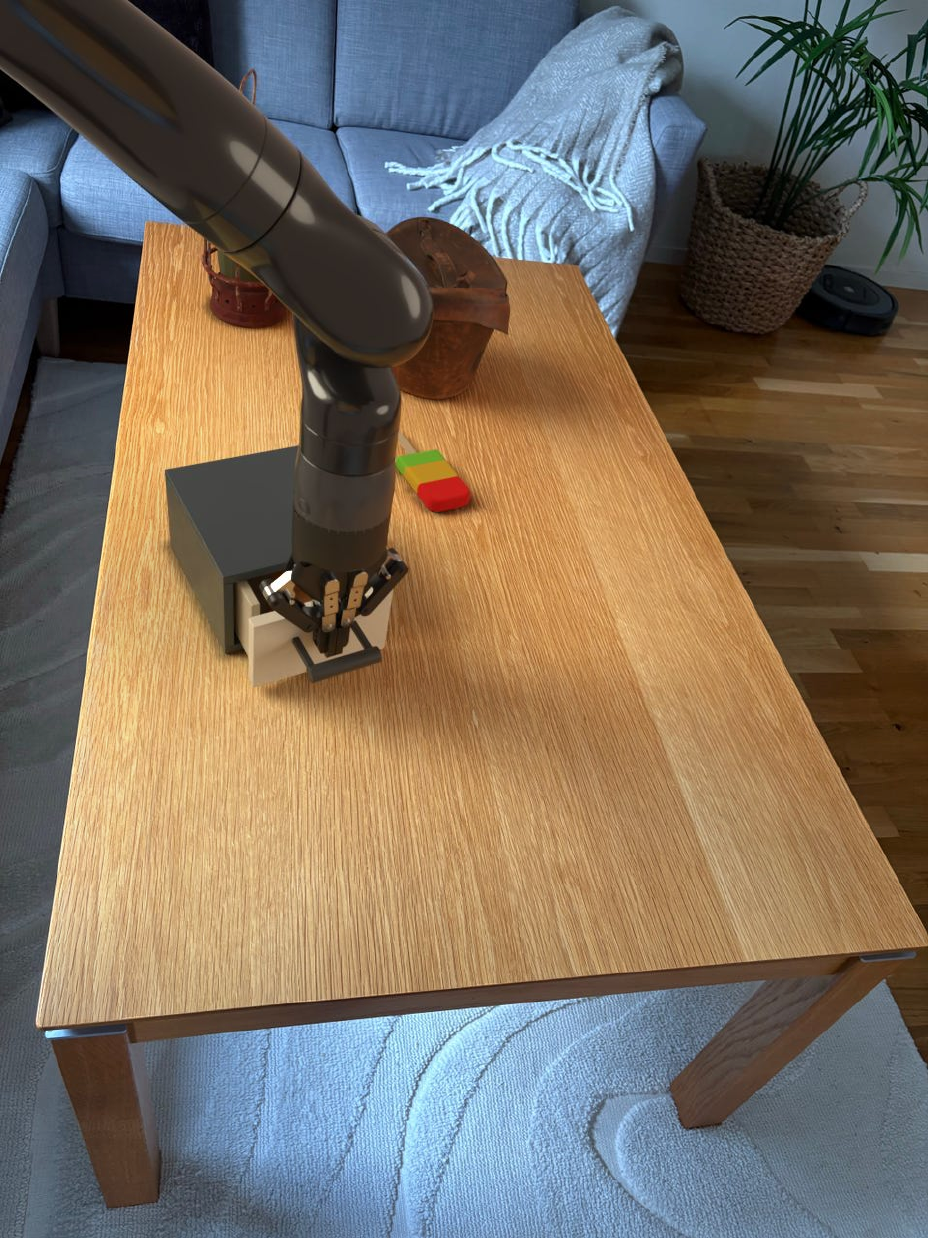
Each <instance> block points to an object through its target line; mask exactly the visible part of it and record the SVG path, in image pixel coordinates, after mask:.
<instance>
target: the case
mask: <svg viewBox="0 0 928 1238" xmlns="http://www.w3.org/2000/svg"><path fill="white" fill-rule="evenodd" d="M385 234H386V235H387V236H388V237H389V238H390V239H391V240H392V241H393V243H394V244H395V245H396V246H397V247H398V248H399V249H400V250H401V252H402V253H403V254H404V255H405V256H406V257H407V258H408V259H409V260H410V261H411V263H412V264H413V265H414V266H415V267H416V268H417V269H418V271H419V272H420V273H421V275H422V276H423V278H424V279H425V281H426V283H427V285H428V287H429V290H430V293H431V297H432V301H433V310H434V314H433V323H432V328H431V331H430V334H429V336H428V338H427V340H426V342H425V344H424V346H423V347H422V348H421V349H420V351H419V352H418V353H417V354H416V355H415V356H414V357H412V358H411V359H410V360H408V361H406V362H404V363H402V364H400V365H397V366H394V367H391V369H392V372H393V374H394V376H395V379H396V381H397V383H398V386H399V389H400V391H403V392H405V393H407V394H410V395H413V396H415V397H420V398H424V399H431V400H445V399H449V398H453V397H456V396H458V395H459V394H462V393H463V392H465V391H466V390H467V389H468V388H469V387H470V385H471V384H472V382H473V380H474V377H475V375H476V373H477V370H478V368H479V365H480V363H481V361H482V358H483V356H484V354H485V351H486V350H487V347H488V345H489V342H490V340H491V338H492V336H493V333H494V331H498V332H501V334H504V335H506V336H510V333H509V327H510V325H509V324H510V317H511V304H510V296H509V294H508V293H507V290H508V279H507V277H506V276H505V274H504V272H503V270H502V269H501V267H500V266H499V264H498V263H497V261H496V260H495V258H494V257H493V255H492V254H491V253H490V252H489V250H487V249H486V248H485V246H484V245H482V244H481V242H480V241H478V240H477V239H476V238H475V237H473V236H472V235H471V234H469V233H468V232H466V231H465V230H463V229H462V228H460V227H459V226H457V225H454V224H453V223H451V222H448V221H445V220H442V219H440V218H435V217H431V216H416V217H410V218H407V219H405V220H402V221H400V222H398V223H396V224H395V225H393V227H391V228H390V229H388V230H387V231H386V232H385Z"/></svg>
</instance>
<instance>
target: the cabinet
mask: <svg viewBox="0 0 928 1238" xmlns="http://www.w3.org/2000/svg"><path fill="white" fill-rule="evenodd" d="M298 445H299V444H297V445H291V446H286V447H280V448H275V449H270V450H264V451H259V452H254V453H249V454H243V455H237V456H232V457H227V458H221V459H215V460H211V461H206V462H205V461H204V462H199V463H194V464H189V465H183V466H178V467H177V466H176V467H172V468H168V469H167V468H166V469H164V477H165V478H164V479H165V481H164V482H165V492H166V494H165V495H166V507H167V520H168V530H169V545H170V546H169V547H170V549H171V551H172V553H173V555H174V556H175V559H176V561H177V562H178V564H179V566H180V569H181V570H182V572H183V574H184V576H185V578H186V580H187V583H188V584H189V586H190V589H191V590H192V592H193V593H194V596H195V598H196V600H197V601H198V603H199V606H200V607H201V610H202V612H203V614H204V615H205V618H206V620H207V621H208V623H209V625H210V627H211V629H212V631H213V633H214V636H215V637H216V639H217V641H218V643H219V645H220V647H221V649H222V651H223V652H224V655H225V654H226V655H227V654H230V653H233V652H237V651H241V650H245V649H244V648H243V646H242V644H241V642H240V640H239V638H238V636H237V634H236V632H235V630H234V605H233V583H234V582H238V581H242V580H246V579H250V578H254V577H258V576H262V575H266V574H270V573H274V572H278V571H282V570H285V565H286V562H287V560H288V558H289V557H290V555H291V552H292V543H291V531H292V507H293V484H294V467H295V461H296V456H297V452H298Z"/></svg>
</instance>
